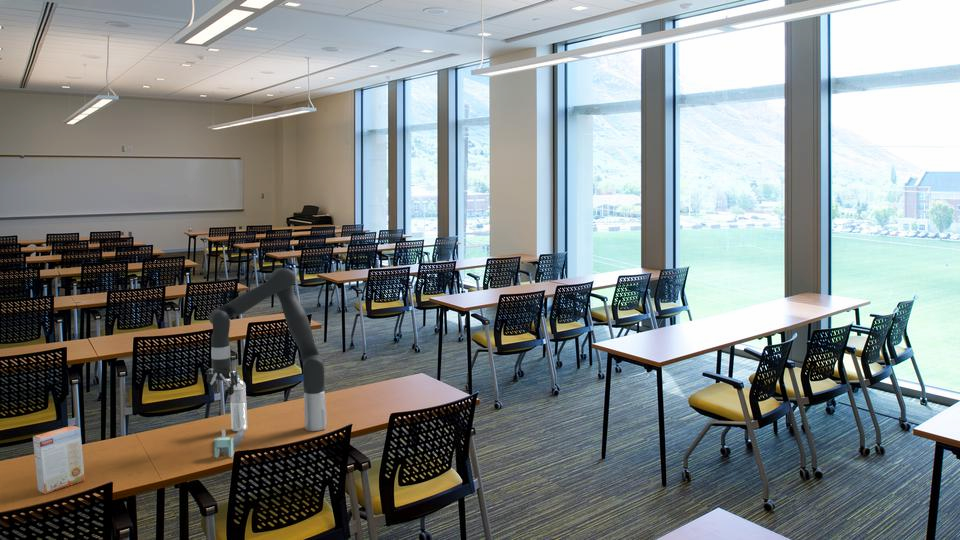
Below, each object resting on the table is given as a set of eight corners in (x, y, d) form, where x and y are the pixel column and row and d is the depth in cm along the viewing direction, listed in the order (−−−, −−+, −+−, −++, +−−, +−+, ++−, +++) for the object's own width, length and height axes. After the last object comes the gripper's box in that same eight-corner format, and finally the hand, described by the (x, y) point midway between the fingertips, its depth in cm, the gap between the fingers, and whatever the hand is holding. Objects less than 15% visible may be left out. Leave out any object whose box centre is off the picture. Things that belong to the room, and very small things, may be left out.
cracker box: (77, 477, 259) (73, 424, 257) (85, 481, 256) (81, 427, 253) (36, 491, 248) (32, 435, 245) (44, 495, 244) (39, 438, 242)
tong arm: (226, 450, 285) (226, 442, 285) (222, 451, 285) (222, 442, 284) (225, 438, 300) (225, 429, 299) (222, 438, 299) (221, 430, 299)
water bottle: (242, 432, 307) (240, 378, 304) (228, 431, 308) (226, 377, 305) (250, 427, 314) (248, 374, 311) (236, 426, 315) (234, 373, 312)
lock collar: (231, 457, 278) (230, 439, 277) (214, 457, 278) (213, 440, 277) (233, 454, 281) (232, 437, 280) (217, 454, 281) (216, 437, 280)
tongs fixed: (230, 454, 281) (229, 444, 281) (221, 454, 281) (220, 444, 281) (244, 437, 301) (243, 428, 301) (235, 437, 301) (235, 428, 301)
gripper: (240, 356, 291) (242, 393, 293) (214, 353, 296) (215, 389, 298) (228, 360, 284) (229, 398, 286) (201, 357, 290) (203, 394, 291)
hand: (222, 393), depth 292 cm, fingers open, 8 cm apart
